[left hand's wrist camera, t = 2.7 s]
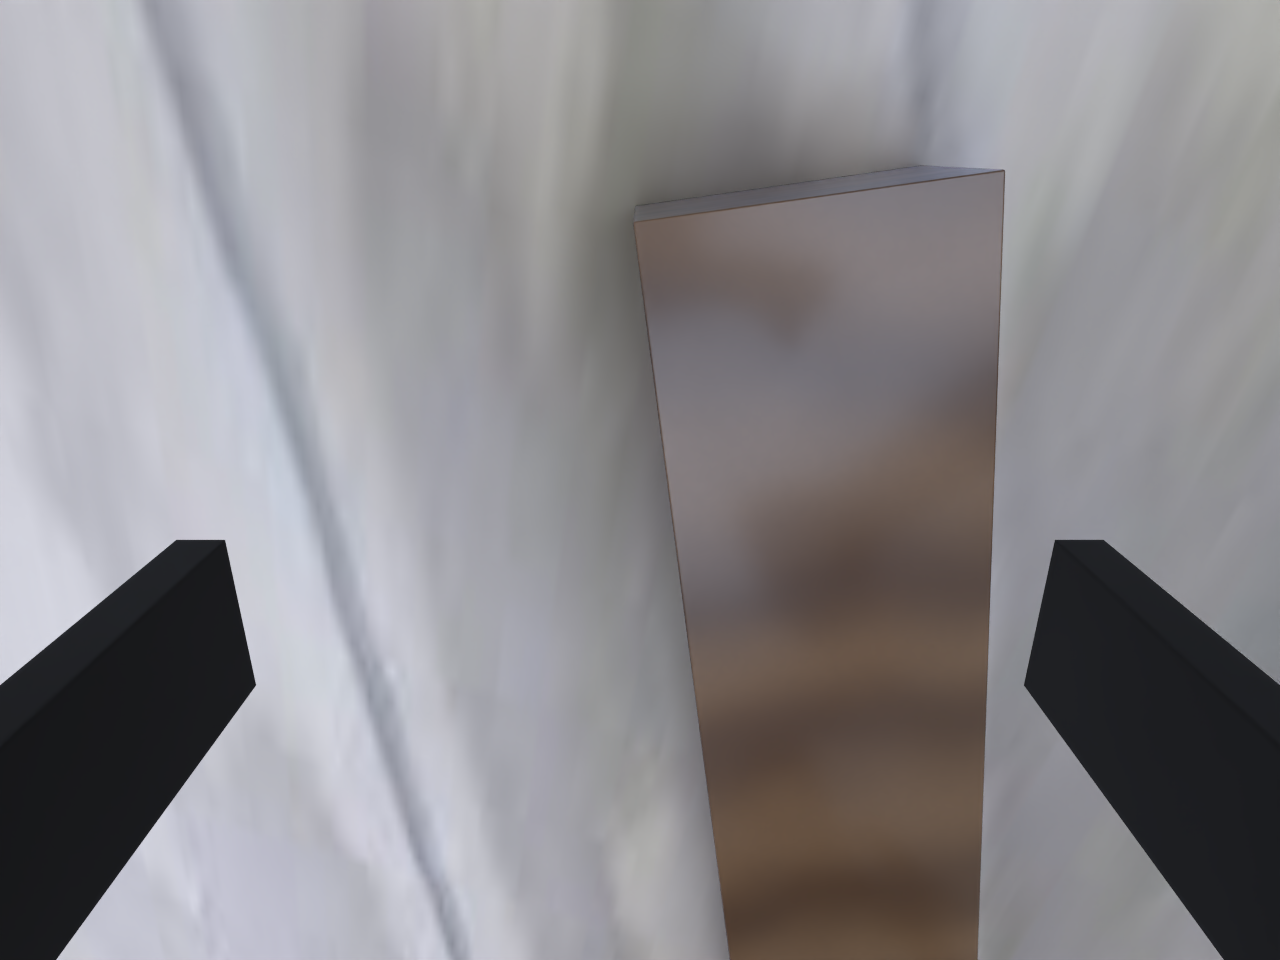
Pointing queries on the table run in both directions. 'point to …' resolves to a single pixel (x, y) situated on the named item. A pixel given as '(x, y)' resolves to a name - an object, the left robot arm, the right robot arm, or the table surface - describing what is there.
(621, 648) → the table surface
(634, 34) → the table surface
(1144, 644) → the left robot arm
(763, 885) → the thick board
